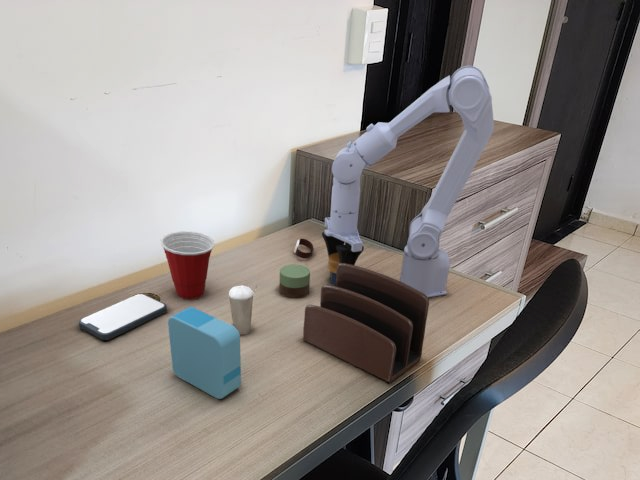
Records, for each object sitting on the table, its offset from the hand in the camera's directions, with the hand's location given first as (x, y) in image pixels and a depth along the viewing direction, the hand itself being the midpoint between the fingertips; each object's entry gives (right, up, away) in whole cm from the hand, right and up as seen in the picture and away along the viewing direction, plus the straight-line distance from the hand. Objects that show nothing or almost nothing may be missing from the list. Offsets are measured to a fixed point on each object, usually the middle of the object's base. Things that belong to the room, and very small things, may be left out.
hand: (340, 269), depth 135 cm
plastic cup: (-32, -6, -4) cm, 33 cm away
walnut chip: (-10, -5, -2) cm, 11 cm away
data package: (-25, -24, -30) cm, 46 cm away
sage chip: (-10, -3, -4) cm, 11 cm away
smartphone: (-44, -12, -13) cm, 47 cm away
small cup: (0, -2, +2) cm, 3 cm away
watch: (-7, +6, +14) cm, 16 cm away
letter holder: (+2, -18, -21) cm, 28 cm away
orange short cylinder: (0, 0, 0) cm, 0 cm away
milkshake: (-20, -14, -16) cm, 29 cm away
